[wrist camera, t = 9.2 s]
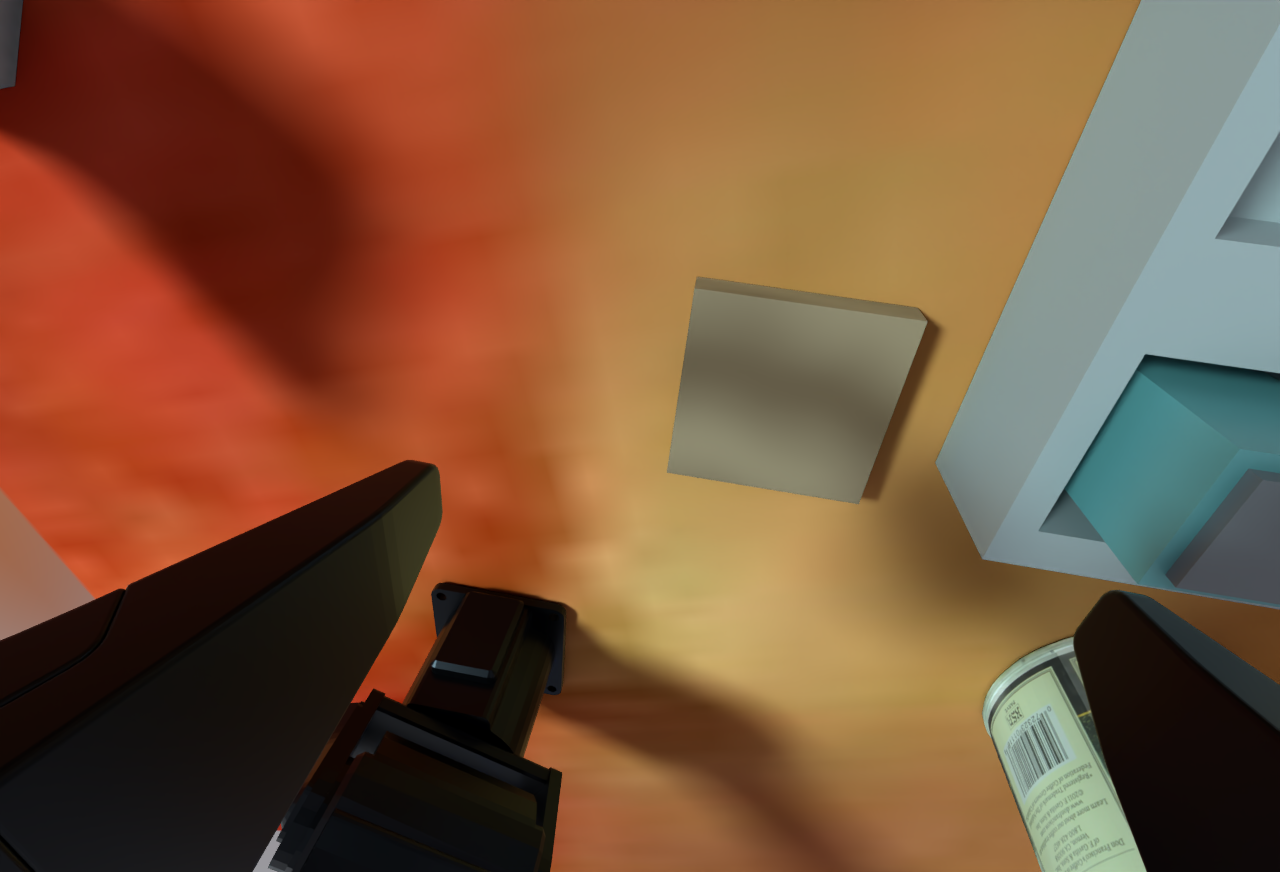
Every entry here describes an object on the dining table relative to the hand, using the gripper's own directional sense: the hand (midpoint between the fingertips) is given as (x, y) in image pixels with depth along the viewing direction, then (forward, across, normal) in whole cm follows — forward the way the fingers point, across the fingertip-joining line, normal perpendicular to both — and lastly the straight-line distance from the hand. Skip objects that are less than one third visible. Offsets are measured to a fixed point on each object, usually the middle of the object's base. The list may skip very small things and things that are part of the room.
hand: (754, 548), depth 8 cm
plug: (+12, -12, +2) cm, 17 cm away
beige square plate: (+13, -2, +4) cm, 14 cm away
